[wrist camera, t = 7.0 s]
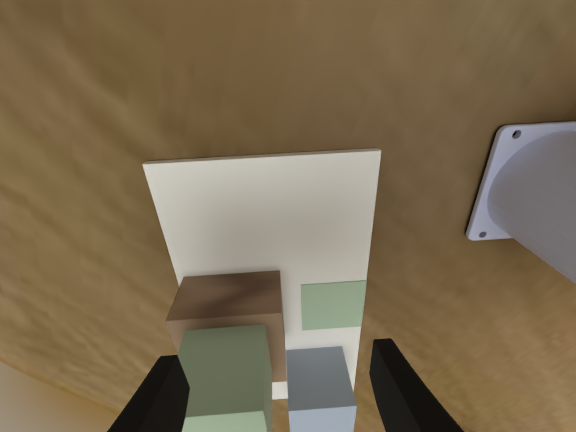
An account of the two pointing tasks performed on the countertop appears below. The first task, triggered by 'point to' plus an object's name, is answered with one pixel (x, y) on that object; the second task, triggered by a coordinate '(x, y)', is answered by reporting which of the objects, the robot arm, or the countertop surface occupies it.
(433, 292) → the countertop surface
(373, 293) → the countertop surface
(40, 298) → the countertop surface
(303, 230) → the white rectangular board
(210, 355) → the sage cube
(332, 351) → the slate cube
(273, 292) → the walnut base
